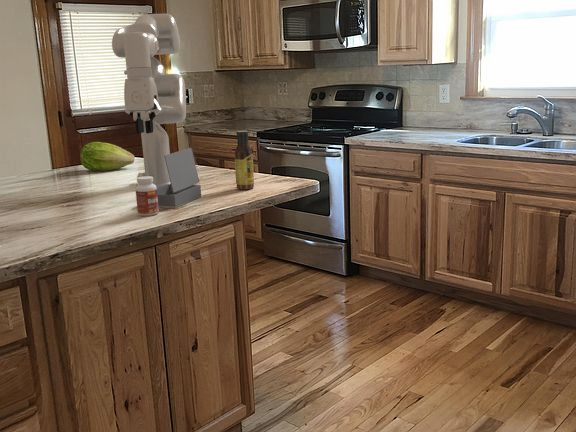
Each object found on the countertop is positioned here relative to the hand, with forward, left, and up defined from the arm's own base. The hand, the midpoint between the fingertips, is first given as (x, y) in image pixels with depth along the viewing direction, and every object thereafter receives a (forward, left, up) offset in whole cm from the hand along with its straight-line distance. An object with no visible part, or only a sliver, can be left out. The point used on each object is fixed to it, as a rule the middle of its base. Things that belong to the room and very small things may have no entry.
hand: (145, 132), depth 197 cm
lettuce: (-52, +46, -22) cm, 73 cm away
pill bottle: (+10, -16, -22) cm, 29 cm away
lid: (+12, 0, -12) cm, 17 cm away
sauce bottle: (+23, +23, -22) cm, 39 cm away
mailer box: (+8, 0, -22) cm, 24 cm away
